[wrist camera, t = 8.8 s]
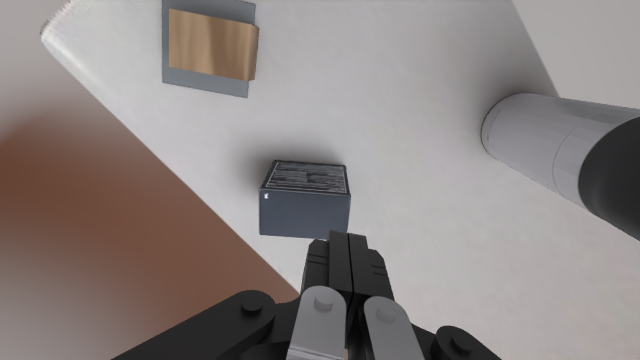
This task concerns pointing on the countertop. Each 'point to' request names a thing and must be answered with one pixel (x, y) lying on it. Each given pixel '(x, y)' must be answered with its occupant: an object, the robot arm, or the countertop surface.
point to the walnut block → (212, 45)
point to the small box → (304, 200)
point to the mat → (211, 3)
